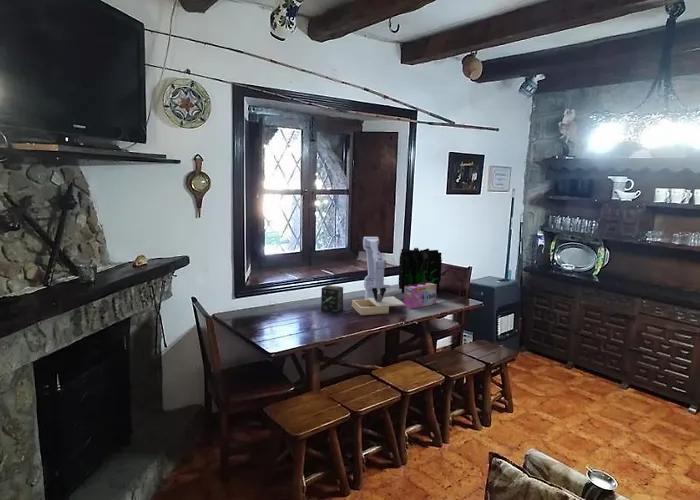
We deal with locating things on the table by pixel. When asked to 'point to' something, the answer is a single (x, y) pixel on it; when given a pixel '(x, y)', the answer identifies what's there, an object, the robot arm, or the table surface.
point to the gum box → (419, 295)
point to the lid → (385, 301)
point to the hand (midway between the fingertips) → (378, 299)
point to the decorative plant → (419, 267)
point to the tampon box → (332, 298)
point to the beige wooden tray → (368, 307)
